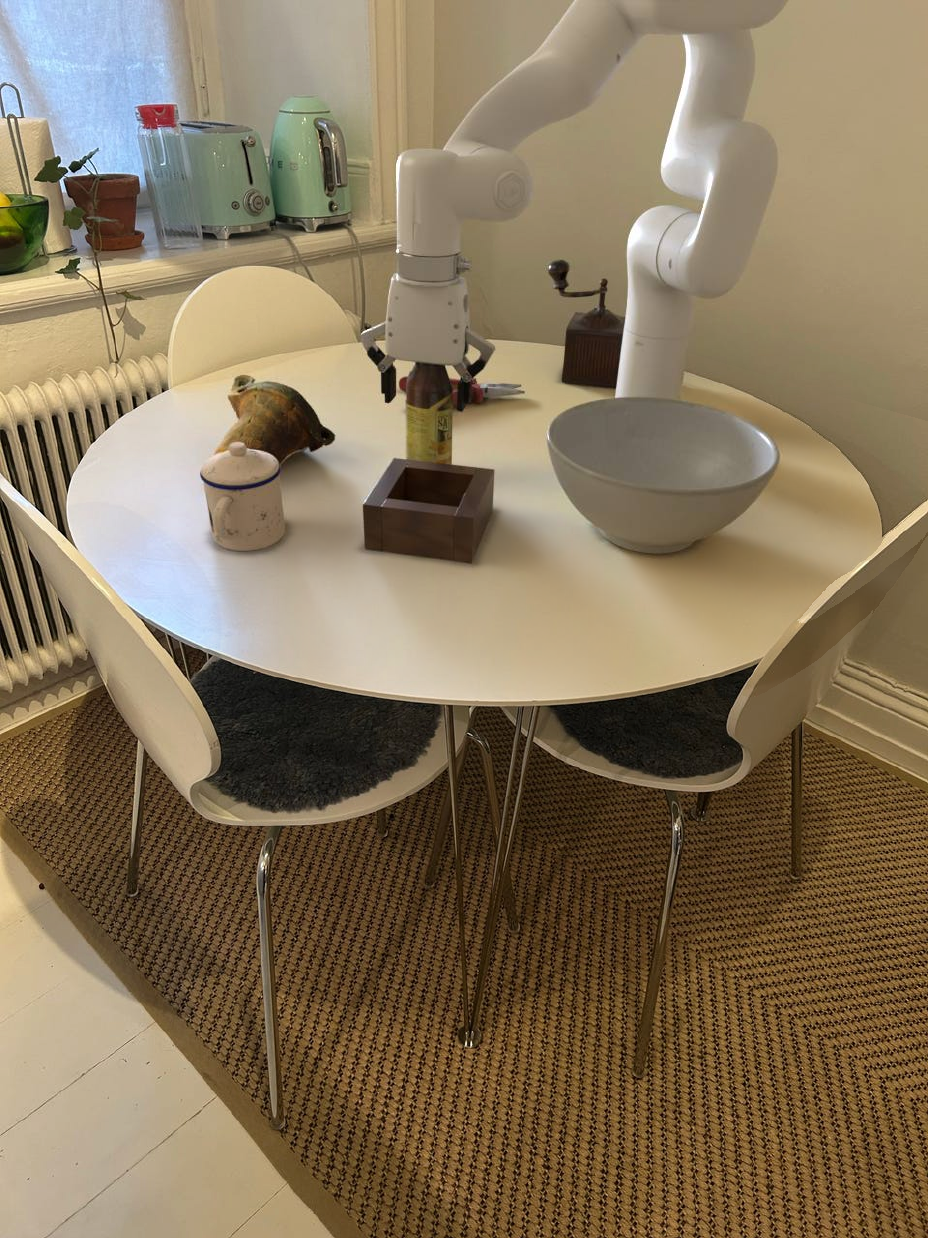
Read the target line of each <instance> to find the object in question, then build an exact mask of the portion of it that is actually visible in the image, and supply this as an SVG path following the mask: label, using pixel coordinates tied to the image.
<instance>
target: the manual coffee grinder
mask: <svg viewBox="0 0 928 1238" xmlns="http://www.w3.org/2000/svg"><path fill="white" fill-rule="evenodd" d="M570 268H571V267H570V264H569V262H568V261H566V260H564V259H555V260H553V261H551V263H549V264H548V266H547V273H548V276H550V278H551V279H552V280H553V286H552V289H553V290H557V291H558V294H559V296H561V297H563V298H570V299H571V298H586V297H593V296H597V295H599V299H598V300H599V301H598V307H594V308H592V309H591V310H589V311H587V312H582V311H581V312H579V311H575V312H574V314H573V315H572V317H571V319H570V321H569V322H568V324H567V326H566V328H565V329H566V330H565V338H564V339H565V340H564V354H563V365H562V373H561V382H562V383H564V384H570V385H580V386H587V387H595V388H596V387H597V388H606V389H607V388H608V389H609V388H610V389H616V386H617V379H618V371H619V363H620V355H621V347H622V339H623V331H624V325H625V317H626V316H621V315H619V314H616V313H615V312H613V311H611V310H610V309H607V308H606V305H605V300H606V293H607V292H608V291H609V290H608V286H607V285H608V283H609V280H608V279H607V278H605V277H604V278H601V280H600V281H599V285H600V286H599V288H598V289H594V290H587V291H586V290H585V291H565V290H566V289H567V288H568V287H569V286H570V283H569V282H568V279H567V278H568V274H569V272H570V270H571V269H570Z"/></svg>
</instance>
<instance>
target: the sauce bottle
mask: <svg viewBox="0 0 928 1238" xmlns="http://www.w3.org/2000/svg"><path fill="white" fill-rule="evenodd" d="M407 376H408V377H407V383H406V393H405V395H406V396H405V397H406V399H405V459H407V460H417V461H425V462H434V463H443V464H452V465H453V424H454V423H453V422H454V421H453V420H454V406H453V388H452V385H451V382H450V379H449V378H450V376H449V374H448V371H447V368H446V365H437V364H428V363H419V362H414V365H413V367H412V369H411V370H410V371H409V373H408V375H407Z"/></svg>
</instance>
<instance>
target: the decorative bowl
mask: <svg viewBox="0 0 928 1238" xmlns="http://www.w3.org/2000/svg"><path fill="white" fill-rule="evenodd" d="M546 445H547V450H548V455H549V459H550V462H551V465H552V469H553V471H554V473H555V476H556V478H557V481H558V483H559V485H560V487H561V489H562V490H563V492H564V493H565V495H566V497H567V499H568V500H569V501H570V503H571V504H572V505H573V507H574V508H575V509H576V510H577V511H578V512H579V513H580V515H582V516H583V517H584V518H585V519H586V520H587V521H588V522H590V523H591V524H592V525H594V526H595V527H597V529H598V531H599V533H600V534H601V536H602V537H604V538H605V539H606V540H607V541H609V542H611V543H612V544H614V545H616V546H617V547H621V548H623V549H626V550H629V551H633V552H637V553H645V554H670V553H676V552H680V551H682V550H685V549H687V548H689V547H690V546H692V545H693V544H695V542H696V541H698V540H702V539H704V538H707V537H710V536H712V535H714V534H716V533H718V532H719V531H721V530H723V529H724V528H726V527H727V526H729V525H731V524H732V523H733V522H735V521H736V520H737V519H738V518H739V517H741V516H742V515H743V514H744V513H745V512H746V511H748V509H749V508H750V507H751V506H752V505H753V504H754V503H755V502H756V501H757V499H758V498H759V497H760V496H761V495H762V493H763V491H765V489H766V487H767V486H768V484H769V483H770V481H772V478H773V476H774V475H775V473H776V470H777V469H778V467H779V464H780V460H781V459H780V457H781V456H780V450H779V447H778V445H777V443H776V442H775V440H774V439H773V437H772V436H770V434H768V433H767V432H766V431H765V430H764V429H762V428H761V427H759V426H758V425H756V424H755V423H753V422H751V421H750V420H747V419H745V418H743V417H741V416H739V415H736V414H734V413H731V412H729V411H726V410H723V409H720V408H717V407H714V406H710V405H706V404H701V403H697V402H692V401H687V400H682V399H680V400H674V399H666V398H654V397H619V398H615V397H608V398H602V399H596V400H592V401H588V402H583V403H579V404H576V405H574V406H572V407H570V408H567V409H565V410H563V411H562V412H560V413H559V414H558V415H556V416H555V417H554V418H553V419H552V420H551V422H550V423H549V424H548V427H547V430H546Z"/></svg>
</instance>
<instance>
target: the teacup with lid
mask: <svg viewBox="0 0 928 1238" xmlns="http://www.w3.org/2000/svg"><path fill="white" fill-rule="evenodd" d="M213 455H214V454H213ZM213 455H212V456H210V457H209V458H207V459H206V460H205V461H204V462H203V463H202V465H201V468H200V472H199V476H200V480H202V482H203V487H204V493H205V499H206V505H207V512H208V518H209V523H210V530H211V535H212V538H213V541H214V542H215V543H216V544H217V545H219V546H220V547H222V548H224V549H227V550H231V551H236V552H237V551H238V552H251V551H252V552H253V551H258V550H262V549H265V548H268V547H271V546H274V545H275V544H276V543H278V542H279V541H281V539H282V538H283V537H284V535H285V533H286V523H285V522H286V521H285V513H284V505H283V504H284V503H283V495H282V486H281V478H280V474H281V471H282V468H281V465H280V464H279V462H278V461H277V459H276V458H275V457H274V456H272V455H271V454H269V453H266V452H263V451H259V450H252V449H247V447H246V445H245V444H244V443H242V442H234V443H232V444H230V445H229V450H227V451H225V452H222V453H219V454H216V455H214V456H213Z"/></svg>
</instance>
